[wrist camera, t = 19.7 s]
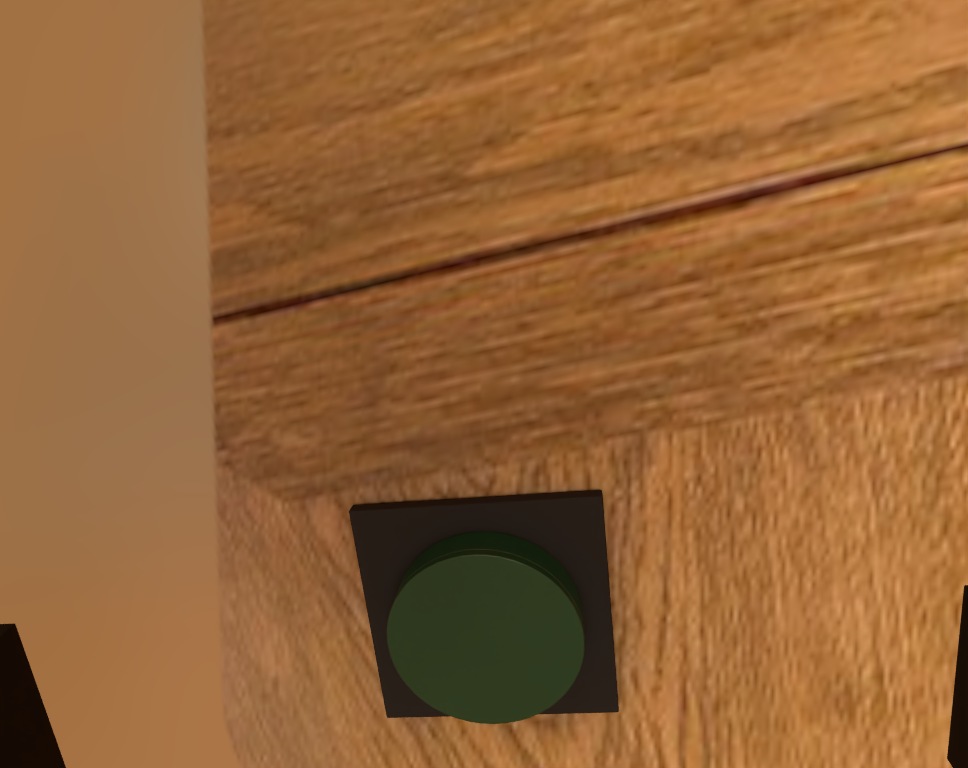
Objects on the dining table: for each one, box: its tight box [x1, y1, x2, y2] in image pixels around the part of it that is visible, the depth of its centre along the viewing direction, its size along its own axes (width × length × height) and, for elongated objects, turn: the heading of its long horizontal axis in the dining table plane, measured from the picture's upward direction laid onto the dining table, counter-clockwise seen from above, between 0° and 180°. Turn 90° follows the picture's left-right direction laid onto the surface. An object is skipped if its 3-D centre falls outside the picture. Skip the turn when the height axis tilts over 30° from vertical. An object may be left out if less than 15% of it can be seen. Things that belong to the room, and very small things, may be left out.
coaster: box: [349, 490, 619, 718], centre depth 31 cm, size 10×10×1 cm
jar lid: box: [387, 532, 584, 724], centre depth 30 cm, size 8×8×2 cm
